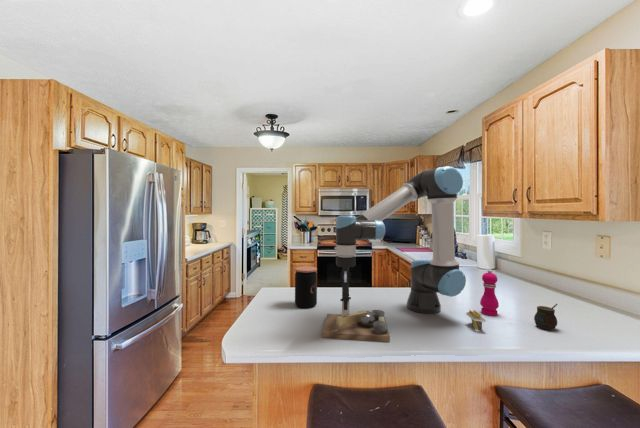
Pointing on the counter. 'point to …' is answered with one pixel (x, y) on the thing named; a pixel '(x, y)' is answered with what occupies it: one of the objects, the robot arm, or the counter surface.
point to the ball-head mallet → (357, 319)
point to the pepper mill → (489, 294)
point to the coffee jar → (306, 287)
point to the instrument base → (357, 329)
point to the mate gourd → (545, 317)
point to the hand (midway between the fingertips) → (345, 317)
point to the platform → (476, 319)
